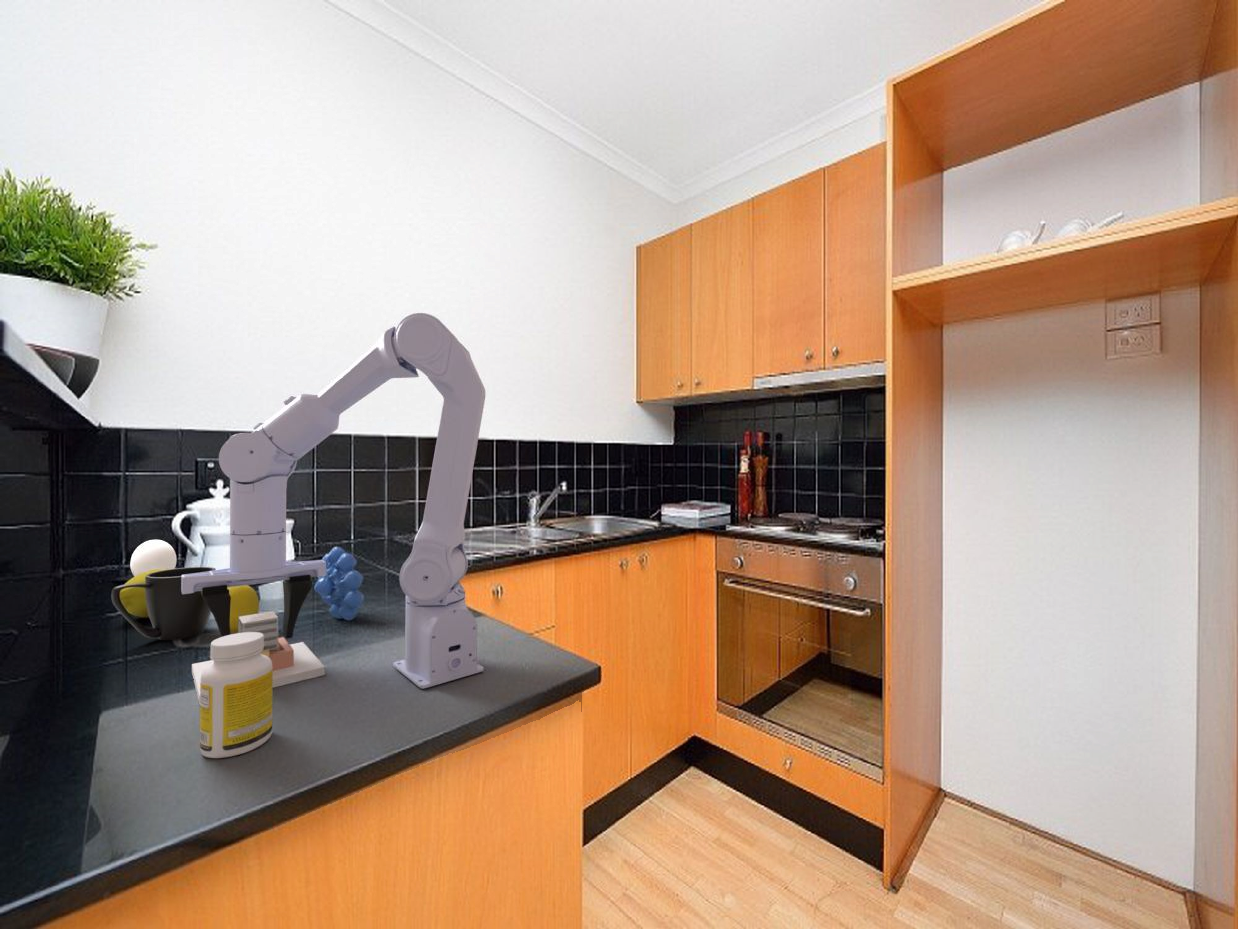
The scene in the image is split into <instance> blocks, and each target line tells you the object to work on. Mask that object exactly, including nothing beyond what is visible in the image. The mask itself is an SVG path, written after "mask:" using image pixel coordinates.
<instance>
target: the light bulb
mask: <svg viewBox="0 0 1238 929" xmlns="http://www.w3.org/2000/svg"><path fill="white" fill-rule="evenodd" d="M177 560H178V559H177V554H176V551H175V549H174V548H173V546H172V545H171V544H169V543H168V542H166V541H164V540H161V539H150V540H146V541H144V542H143V543H141V544H140V545H138V546H137V547H136V548H135V550H134V551H133V553H132V554H131V558H130V562H129V563H130V564H129V566H130V570H131V573H132V575H133V577H135V576H137V575H139V574H142V573H144V572H148V571H152V570H158V569H176V565H177Z"/></svg>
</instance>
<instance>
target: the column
mask: <svg viewBox="0 0 1238 929" xmlns="http://www.w3.org/2000/svg"><path fill="white" fill-rule="evenodd" d="M245 632H259V633H262V634H263V635H264V647H263V648H264V649H263V650H267V649H268V650H269V653H272V652H277V651H278V638H279V616H278V615H277V614H276V613H275V612H274V610H272V611H267V612H266V611H265V612H258V614H252V615H246V616H240V617H238V633H245Z"/></svg>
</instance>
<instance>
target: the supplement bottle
mask: <svg viewBox="0 0 1238 929" xmlns="http://www.w3.org/2000/svg"><path fill="white" fill-rule="evenodd" d="M263 647H264V635H263V634H262V633H259V632H245V633H236V634H233V633H231V635H227V636H224V637H221V636H219V637H218V638H216V639H213V640H212V641H211V643H210V652H209V653H210V660H214V663H212V664H211V665H209V666H208V667H206V668H205V669H204V671H203V672H202V674H201V681H200V706H199V707H200V708H199V712H200V714H199V716H200V717H199V747H200V750H199V751H200V753H201V755H202V756H204V757H205V758H210V759H223V758H229V757H231V758H232V757H235V756H238V755H242V754H246V753H248V752H251V751H253V750H255V749H257V748H258V747H261V746H262V745H263V744H265V743H266V742H267V741H268V740H269V739H270V738H271V736H272V733H273V691H274V690H273V688H274V687H273V668H272V661H271V659H270V658H269V657H267V656H265V655H262V654H261V652H262V651H263V649H264V648H263Z"/></svg>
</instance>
